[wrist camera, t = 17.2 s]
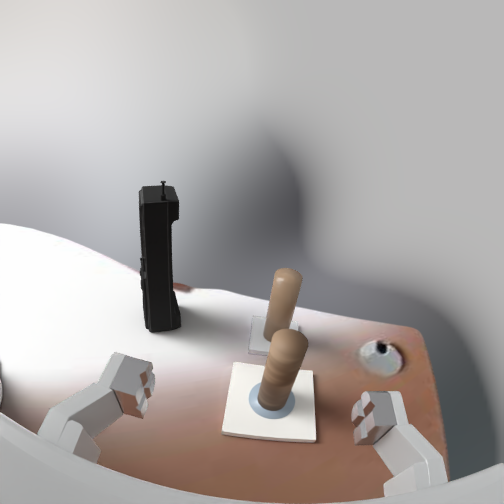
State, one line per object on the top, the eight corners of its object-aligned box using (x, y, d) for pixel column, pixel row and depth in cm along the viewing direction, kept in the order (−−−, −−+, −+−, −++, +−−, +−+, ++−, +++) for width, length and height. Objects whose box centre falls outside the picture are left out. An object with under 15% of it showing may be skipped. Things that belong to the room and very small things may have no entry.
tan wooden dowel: (248, 353, 45) (259, 288, 39) (252, 319, 52) (262, 257, 46) (297, 359, 45) (318, 296, 39) (296, 325, 52) (313, 265, 46)
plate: (221, 434, 32) (221, 430, 32) (233, 365, 43) (233, 360, 42) (313, 442, 32) (316, 439, 31) (310, 374, 42) (312, 370, 42)
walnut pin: (256, 409, 35) (271, 353, 29) (258, 385, 39) (272, 326, 33) (286, 412, 35) (309, 357, 29) (286, 388, 38) (307, 330, 32)
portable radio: (142, 303, 52) (132, 169, 39) (174, 300, 54) (172, 167, 42) (146, 333, 46) (131, 185, 33) (181, 329, 48) (179, 182, 35)
